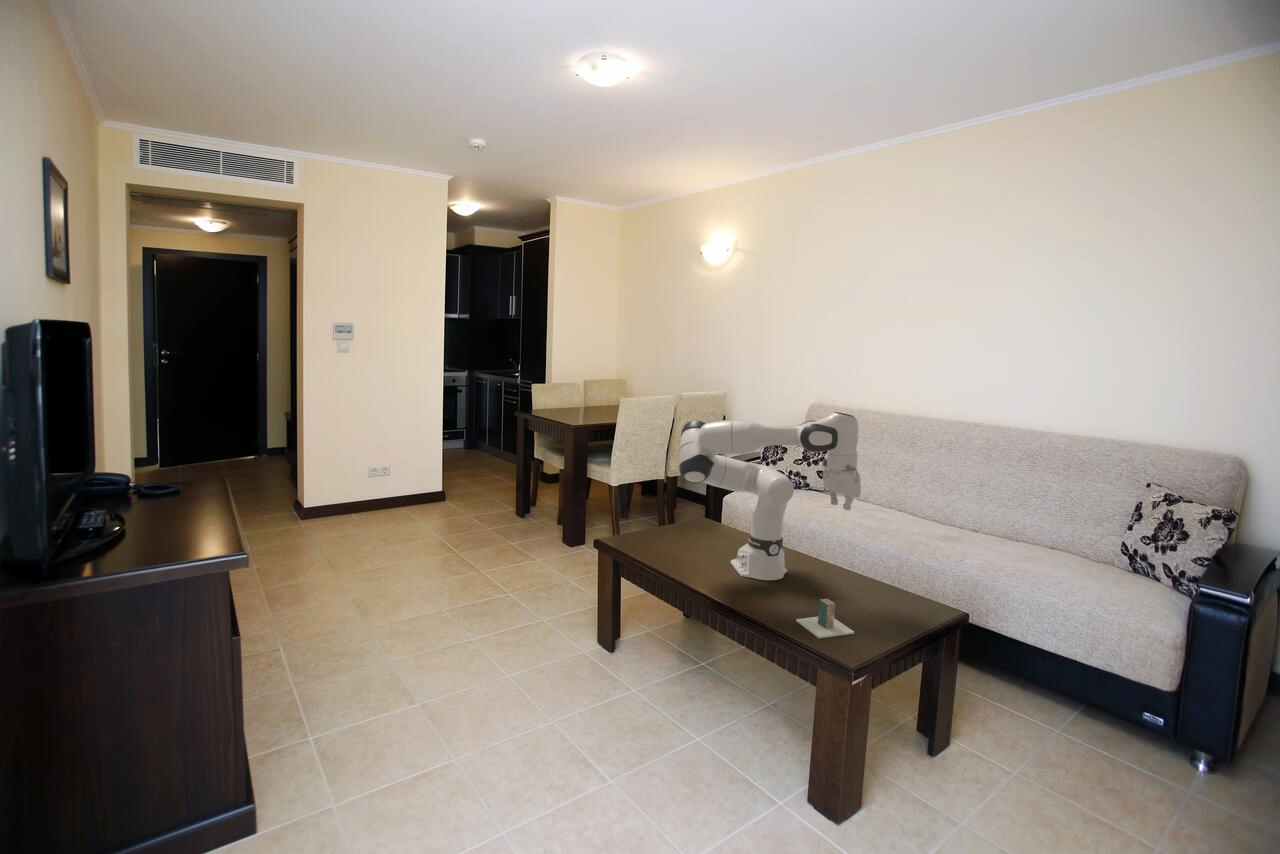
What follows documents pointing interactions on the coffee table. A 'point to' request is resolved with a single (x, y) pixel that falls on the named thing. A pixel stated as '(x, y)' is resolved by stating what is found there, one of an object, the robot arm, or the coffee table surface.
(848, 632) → the sage mat
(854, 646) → the coffee table surface
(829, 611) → the card deck block
